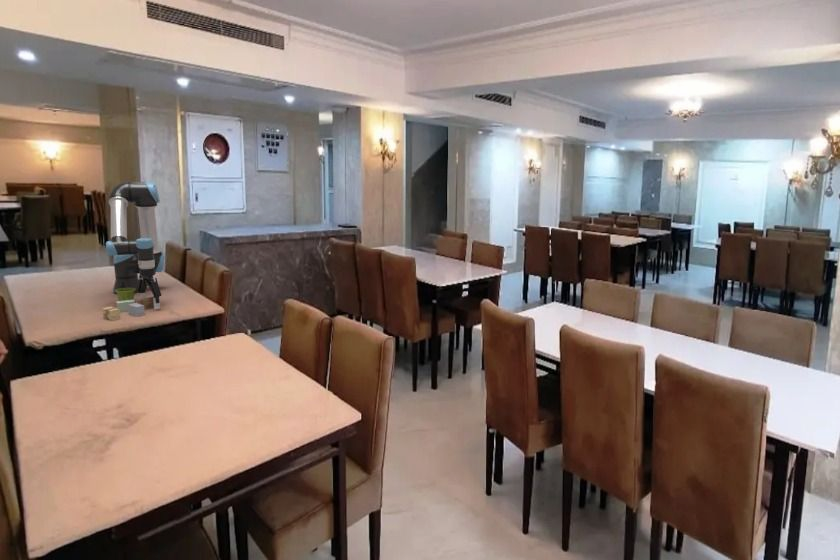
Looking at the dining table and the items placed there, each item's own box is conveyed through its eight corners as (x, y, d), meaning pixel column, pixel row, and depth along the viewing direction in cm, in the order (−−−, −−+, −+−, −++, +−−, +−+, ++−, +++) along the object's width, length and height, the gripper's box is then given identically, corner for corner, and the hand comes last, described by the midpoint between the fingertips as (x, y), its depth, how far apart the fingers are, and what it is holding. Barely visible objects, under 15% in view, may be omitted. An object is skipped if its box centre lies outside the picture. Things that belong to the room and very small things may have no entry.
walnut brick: (145, 309, 266) (144, 300, 264) (141, 308, 267) (140, 299, 266) (160, 306, 272) (159, 297, 271) (155, 305, 274) (154, 296, 273)
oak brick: (103, 318, 249) (102, 308, 248) (111, 316, 253) (110, 306, 252) (112, 321, 245) (110, 311, 244) (120, 319, 249) (119, 309, 247)
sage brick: (117, 312, 259) (116, 303, 258) (117, 310, 262) (116, 301, 261) (135, 310, 263) (134, 301, 262) (134, 308, 267) (133, 299, 266)
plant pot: (123, 302, 277) (122, 287, 275) (140, 303, 277) (139, 287, 275) (113, 307, 268) (111, 291, 266) (130, 307, 268) (128, 291, 266)
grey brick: (128, 314, 257) (127, 304, 256) (136, 312, 260) (135, 302, 259) (136, 316, 253) (135, 307, 252) (145, 315, 256) (144, 305, 255)
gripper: (127, 265, 269) (131, 304, 274) (151, 271, 255) (155, 312, 260) (142, 264, 275) (145, 301, 280) (166, 269, 261) (169, 309, 266)
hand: (150, 306), depth 270 cm, fingers open, 13 cm apart
